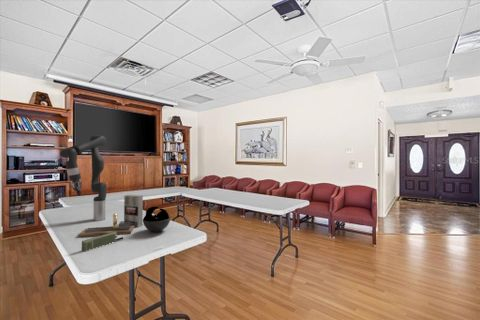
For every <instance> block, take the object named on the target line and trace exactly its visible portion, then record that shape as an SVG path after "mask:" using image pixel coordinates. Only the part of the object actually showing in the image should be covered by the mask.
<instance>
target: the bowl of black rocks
mask: <svg viewBox="0 0 480 320" xmlns="http://www.w3.org/2000/svg"><path fill="white" fill-rule="evenodd" d="M158 208H159V206H156V205H155V206H150V207H149V208H147V209H146V210H145V215H144V217H142V224H143V226H144V227H145V228H146V229H147V231H151V232H153V233H154V232H155V233H158V232H161V231H163V230H165V229H166V228H167V227H168V226H169V224H170V222H171V216H170V215H169V213H168V211H167V210H166V209H163V208H159V210H160V211H159V212H157V214H154V215H153V213H154V212H155V210H157V209H158Z"/></svg>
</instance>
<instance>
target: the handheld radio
mask: <svg viewBox="0 0 480 320" xmlns="http://www.w3.org/2000/svg"><path fill="white" fill-rule="evenodd" d="M121 240H124V236H122V237H118V235H117V232H113V233H109V234H106V235H102V236H93V237H92V238H91V237H90V238H88V239H84V240H81V252H82V251H84V252H87V251H86V250H88V251H90V250H89V249H91V250H94V249H97V248H96V247H98V248H100V247H99V246H101V247H103V246H102V245H104V246H107V245H106V244H108V245H110V244H109V243H111V244H113V243H112V242H114V243H116V242H117V241H121ZM93 248H94V249H93Z"/></svg>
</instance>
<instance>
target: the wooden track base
mask: <svg viewBox="0 0 480 320" xmlns="http://www.w3.org/2000/svg"><path fill="white" fill-rule="evenodd" d="M134 229H135V227H134V226H131V228H130V229H129V230H119V228H113V225H112V226H101V227H87V228H84V230H81V232H79V233H78V235H77V238H79V239H80V238H91V237H92V238H94V237H98V236H102V235H106V234H109V233H113V232H117V235H116V236H118V235H120V234H121V235H132V233H133V231H134ZM131 232H132V233H131ZM121 235H120V236H121Z"/></svg>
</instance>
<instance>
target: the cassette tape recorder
mask: <svg viewBox="0 0 480 320" xmlns="http://www.w3.org/2000/svg"><path fill="white" fill-rule="evenodd" d="M143 198H144V197H143V195H140V194H124V196H123V201H124V202H123V204H124V205H123V221H131V226H134V228H140V227H141V225H142V226H144V223H143Z"/></svg>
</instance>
